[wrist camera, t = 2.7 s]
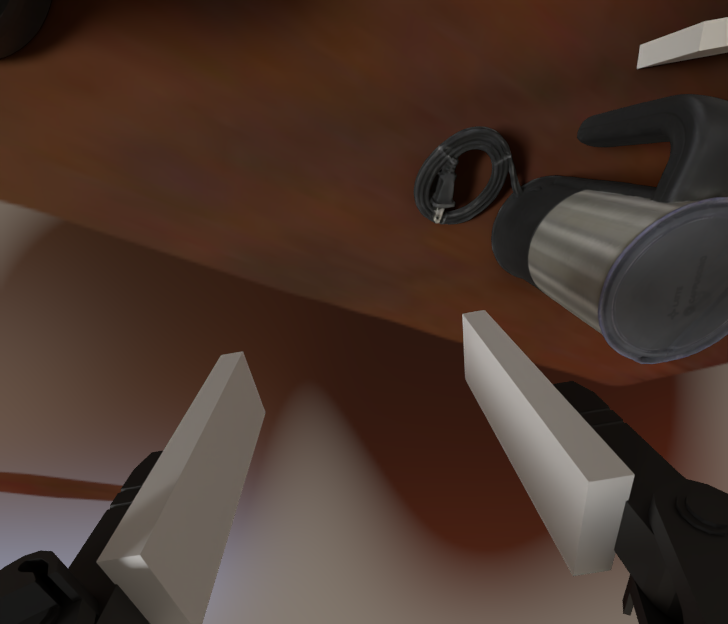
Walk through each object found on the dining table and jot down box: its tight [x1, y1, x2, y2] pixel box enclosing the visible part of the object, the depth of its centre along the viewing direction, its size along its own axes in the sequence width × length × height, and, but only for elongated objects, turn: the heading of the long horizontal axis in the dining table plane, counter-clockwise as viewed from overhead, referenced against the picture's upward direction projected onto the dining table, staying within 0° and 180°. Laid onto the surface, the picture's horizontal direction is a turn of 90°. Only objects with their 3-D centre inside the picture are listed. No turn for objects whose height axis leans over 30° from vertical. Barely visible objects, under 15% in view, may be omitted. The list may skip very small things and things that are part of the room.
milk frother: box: [414, 94, 728, 364], centre depth 23 cm, size 14×16×15 cm
